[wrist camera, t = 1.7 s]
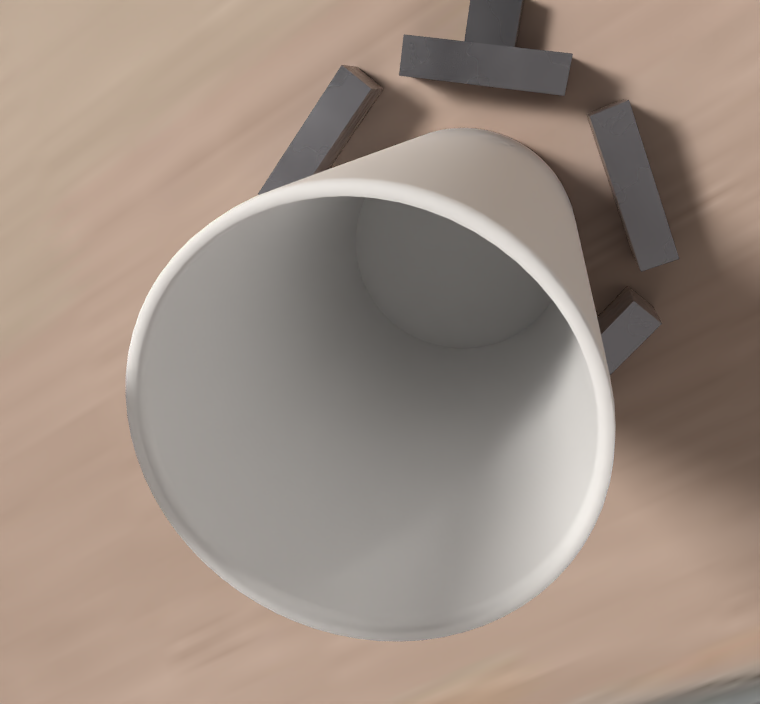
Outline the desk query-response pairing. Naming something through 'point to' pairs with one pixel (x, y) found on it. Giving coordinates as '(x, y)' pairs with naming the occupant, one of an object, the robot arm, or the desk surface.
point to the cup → (381, 390)
